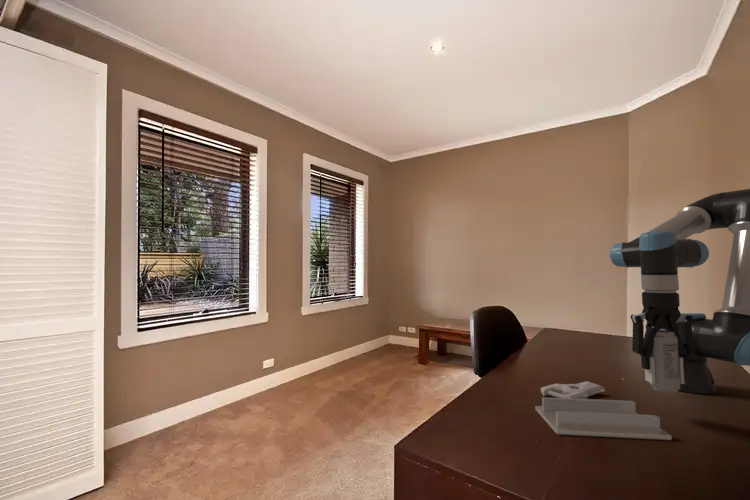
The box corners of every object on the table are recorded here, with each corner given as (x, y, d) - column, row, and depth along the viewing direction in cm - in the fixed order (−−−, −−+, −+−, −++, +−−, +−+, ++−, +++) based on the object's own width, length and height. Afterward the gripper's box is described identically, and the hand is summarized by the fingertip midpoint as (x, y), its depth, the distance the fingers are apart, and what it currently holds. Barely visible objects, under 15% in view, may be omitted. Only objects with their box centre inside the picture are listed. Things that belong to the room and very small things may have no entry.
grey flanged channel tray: (632, 413, 92) (631, 398, 92) (671, 440, 78) (671, 421, 78) (535, 409, 94) (535, 394, 94) (557, 434, 80) (556, 416, 80)
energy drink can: (663, 384, 94) (660, 327, 94) (687, 392, 88) (683, 332, 89) (644, 386, 93) (641, 329, 93) (666, 395, 87) (663, 333, 88)
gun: (575, 374, 114) (607, 384, 105) (576, 385, 114) (608, 396, 105) (536, 385, 106) (566, 397, 97) (536, 397, 106) (567, 409, 97)
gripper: (688, 289, 94) (693, 377, 93) (612, 290, 96) (616, 377, 95) (712, 292, 87) (717, 387, 86) (629, 293, 89) (634, 386, 88)
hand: (664, 381), depth 91 cm, fingers closed on energy drink can, 6 cm apart
